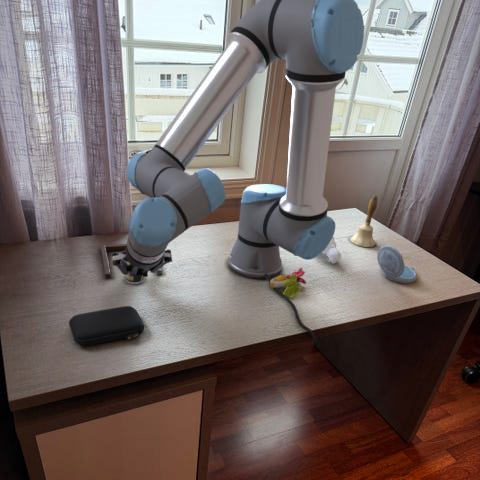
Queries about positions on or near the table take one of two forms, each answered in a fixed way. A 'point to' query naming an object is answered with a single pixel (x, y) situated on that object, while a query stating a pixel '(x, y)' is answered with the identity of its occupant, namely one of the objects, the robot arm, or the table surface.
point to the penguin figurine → (332, 252)
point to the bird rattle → (289, 283)
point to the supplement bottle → (130, 278)
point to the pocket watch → (394, 265)
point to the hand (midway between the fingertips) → (136, 276)
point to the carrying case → (106, 325)
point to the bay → (114, 248)
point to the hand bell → (366, 228)
